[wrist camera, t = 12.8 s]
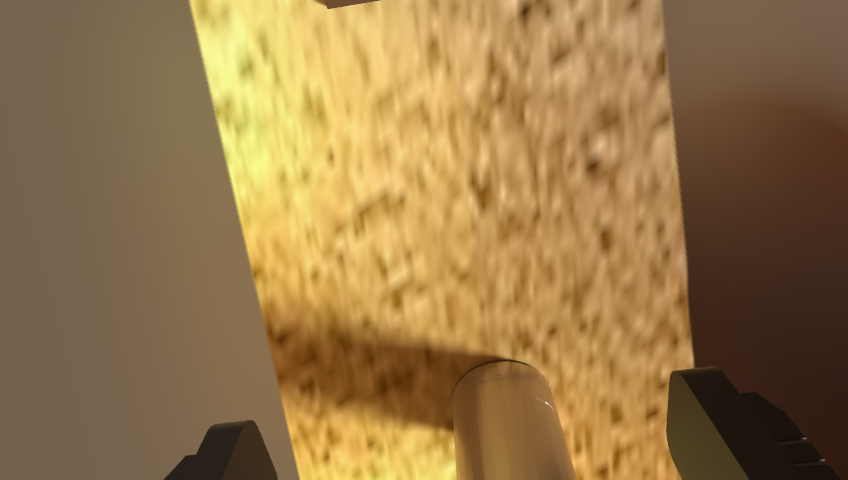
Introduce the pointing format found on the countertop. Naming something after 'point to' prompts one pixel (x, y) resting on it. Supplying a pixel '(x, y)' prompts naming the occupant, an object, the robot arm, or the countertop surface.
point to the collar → (345, 3)
